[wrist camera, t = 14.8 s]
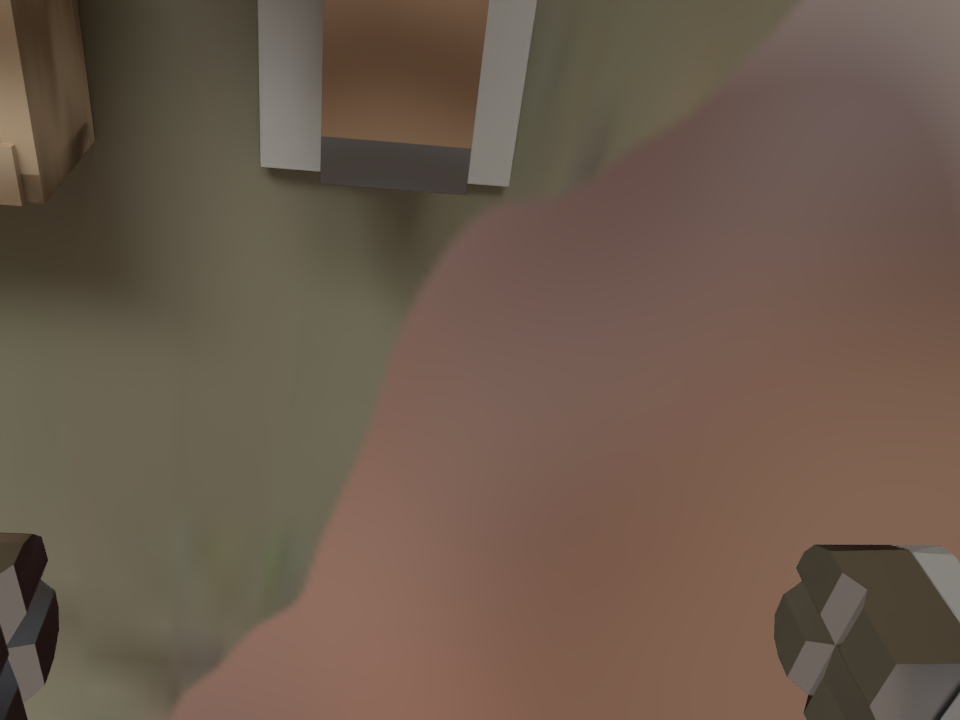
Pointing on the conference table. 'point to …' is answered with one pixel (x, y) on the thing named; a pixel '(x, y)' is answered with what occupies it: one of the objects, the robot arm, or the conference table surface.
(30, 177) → the brown wooden open box
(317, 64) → the felt pad
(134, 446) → the conference table surface
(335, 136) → the capped block
